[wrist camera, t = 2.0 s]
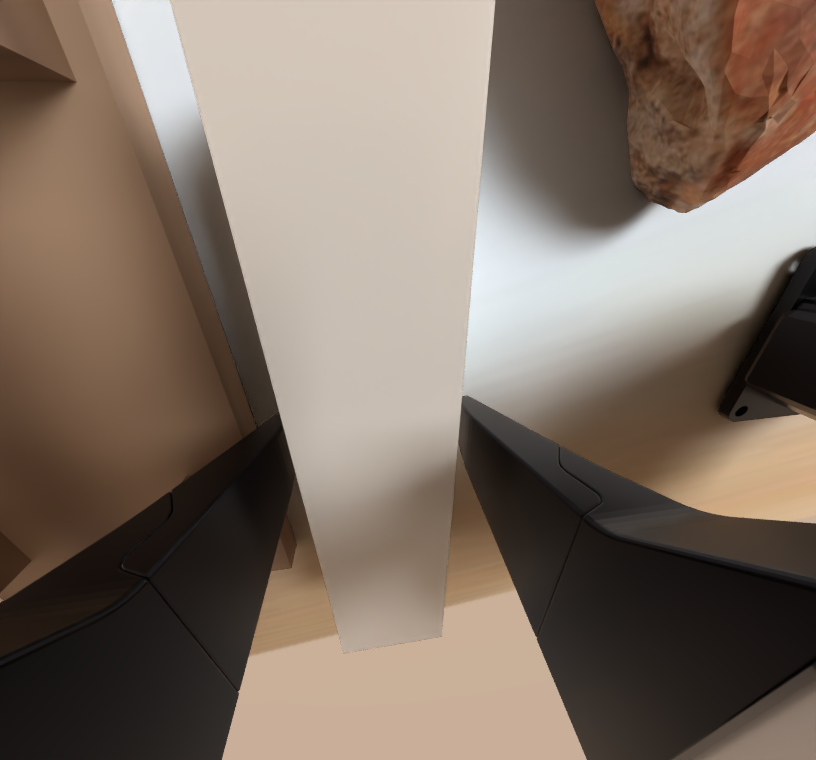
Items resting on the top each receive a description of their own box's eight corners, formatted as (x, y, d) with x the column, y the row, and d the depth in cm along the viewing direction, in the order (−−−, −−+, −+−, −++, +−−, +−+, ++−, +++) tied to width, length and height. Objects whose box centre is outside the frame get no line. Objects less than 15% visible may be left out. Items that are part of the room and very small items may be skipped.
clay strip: (428, 82, 7) (502, -77, 3) (422, 534, 14) (441, 636, 11) (266, 76, 6) (139, -114, 3) (348, 544, 14) (343, 653, 10)
